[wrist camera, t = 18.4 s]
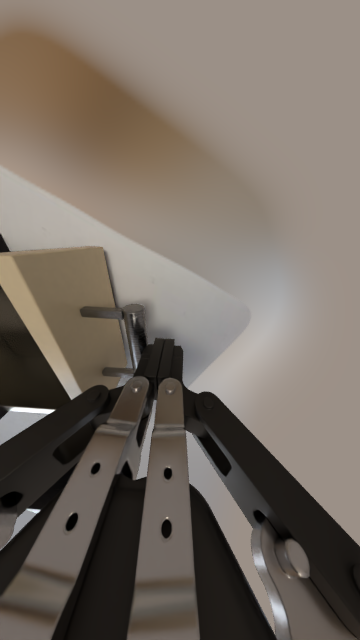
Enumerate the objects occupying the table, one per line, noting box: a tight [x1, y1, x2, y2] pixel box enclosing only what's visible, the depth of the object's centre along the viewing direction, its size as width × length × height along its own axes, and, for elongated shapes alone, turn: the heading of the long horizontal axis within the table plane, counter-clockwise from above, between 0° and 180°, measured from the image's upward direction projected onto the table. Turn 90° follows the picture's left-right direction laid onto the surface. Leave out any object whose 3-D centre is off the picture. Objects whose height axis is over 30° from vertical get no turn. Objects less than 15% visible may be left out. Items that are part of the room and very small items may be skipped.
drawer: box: [0, 246, 148, 414], centre depth 12 cm, size 18×13×7 cm
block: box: [26, 461, 79, 513], centre depth 23 cm, size 5×5×10 cm
